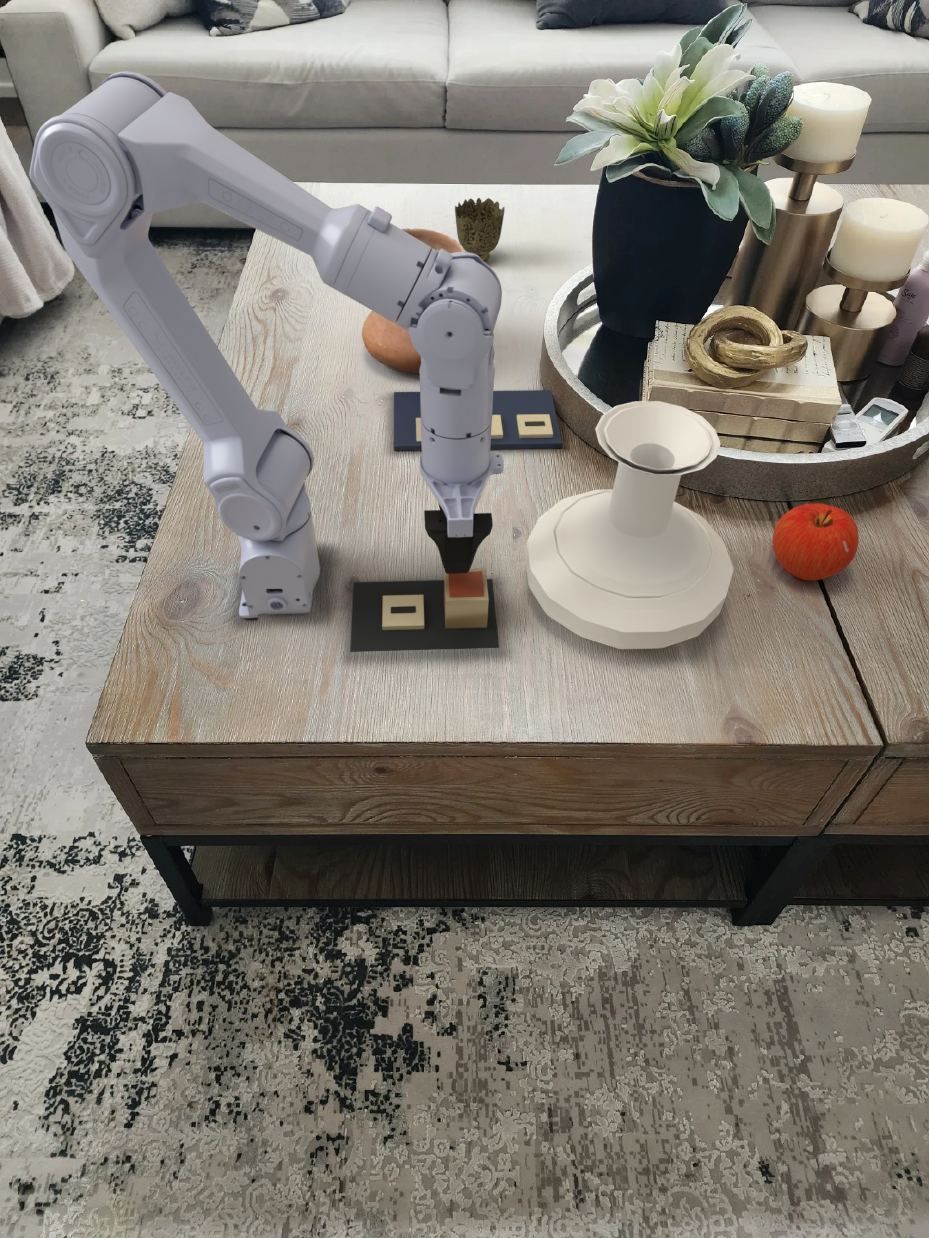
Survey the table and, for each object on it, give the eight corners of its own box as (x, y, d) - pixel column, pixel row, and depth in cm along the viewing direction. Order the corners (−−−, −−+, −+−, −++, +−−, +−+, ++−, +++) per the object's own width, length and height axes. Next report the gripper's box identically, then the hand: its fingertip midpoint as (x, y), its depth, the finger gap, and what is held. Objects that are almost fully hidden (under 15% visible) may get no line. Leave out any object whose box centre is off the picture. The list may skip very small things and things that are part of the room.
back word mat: (561, 448, 101) (562, 438, 100) (393, 451, 100) (393, 440, 99) (550, 395, 108) (551, 385, 107) (394, 397, 107) (393, 387, 106)
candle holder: (534, 513, 93) (551, 358, 79) (717, 538, 92) (770, 383, 77) (509, 652, 80) (524, 497, 66) (723, 684, 78) (787, 531, 64)
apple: (859, 581, 88) (890, 523, 82) (796, 603, 85) (823, 545, 79) (809, 532, 92) (835, 474, 86) (749, 551, 90) (771, 494, 84)
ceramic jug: (489, 378, 111) (495, 273, 100) (383, 398, 107) (376, 291, 96) (445, 310, 122) (446, 210, 111) (347, 326, 118) (338, 224, 108)
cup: (446, 254, 133) (446, 201, 127) (488, 245, 135) (490, 193, 129) (466, 275, 129) (467, 222, 123) (509, 266, 131) (513, 213, 125)
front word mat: (498, 652, 80) (499, 642, 79) (350, 656, 80) (349, 646, 79) (491, 584, 86) (492, 573, 85) (353, 587, 86) (352, 577, 84)
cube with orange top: (486, 627, 81) (488, 598, 78) (445, 628, 81) (445, 600, 78) (484, 597, 84) (485, 568, 81) (443, 598, 84) (443, 569, 81)
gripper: (514, 474, 63) (505, 597, 74) (498, 366, 73) (491, 488, 83) (420, 476, 63) (423, 599, 73) (416, 367, 72) (419, 490, 83)
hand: (454, 541), depth 78 cm, fingers open, 7 cm apart
